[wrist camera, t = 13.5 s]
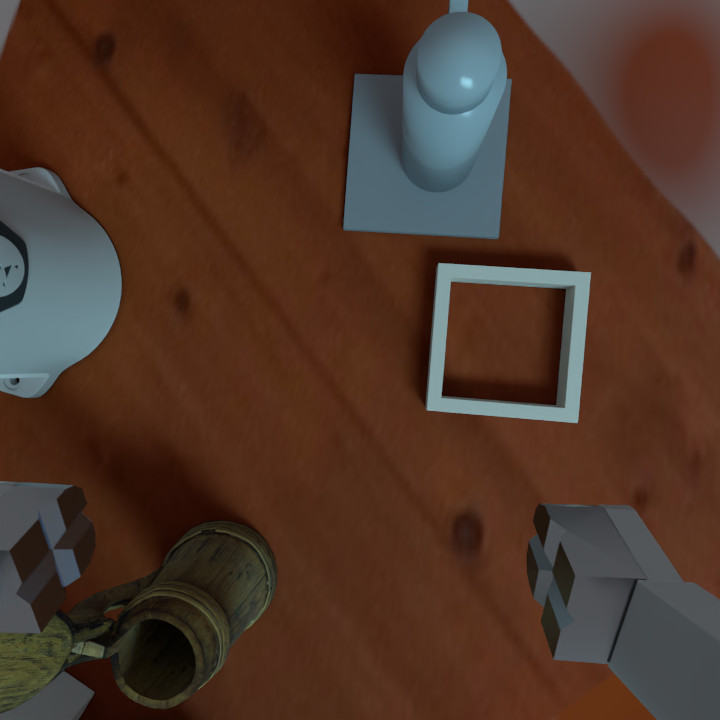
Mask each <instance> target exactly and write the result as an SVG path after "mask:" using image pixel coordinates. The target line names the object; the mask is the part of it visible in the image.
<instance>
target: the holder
mask: <svg viewBox="0 0 720 720" xmlns="http://www.w3.org/2000/svg"><path fill="white" fill-rule="evenodd" d="M590 277H591V273H590V272H574V271H558V270H542V269H526V268H510V267H494V266H478V265H462V264H446V263H438V265H437V267H436V279H435V292H434V304H433V317H432V329H431V342H430V355H429V367H428V380H427V392H426V405H425V408H426V410H430V411H442V412H454V413H465V414H477V415H489V416H501V417H513V418H524V419H536V420H548V421H560V422H572V423H578V415H579V404H580V392H581V381H582V369H583V358H584V346H585V335H586V323H587V312H588V300H589V289H590ZM451 281H452V282H468V283H483V284H499V285H514V286H529V287H545V288H560V289H566V296H565V308H564V319H563V331H562V343H561V354H560V366H559V378H558V389H557V401H556V405H547V404H535V403H522V402H510V401H498V400H486V399H474V398H462V397H450V396H442V384H443V371H444V359H445V347H446V334H447V322H448V309H449V297H450V284H451Z"/></svg>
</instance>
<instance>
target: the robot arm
mask: <svg viewBox="0 0 720 720" xmlns="http://www.w3.org/2000/svg"><path fill="white" fill-rule="evenodd" d="M121 287H122V282H121V270H120V265H119V261H118V257H117V254H116V251H115V249H114V246H113V244H112V242H111V240H110V239H109V237H108V235H107V234H106V232H105V231H104V230H103V228H102V227H101V226H100V225H99V223H98V222H97V221H96V220H95V219H94V218H93V217H91V216H90V215H89V214H88V213H86V212H85V211H84V210H83V209H81V208H80V207H79V206H78V205H77V204H76V203H74V201H73V200H72V199H71V197H70V196H69V194H68V192H67V190H66V188H65V186H64V184H63V183H62V181H61V180H60V178H59V177H58V176H57V175H56V174H55V173H54V172H52V171H50V170H47V169H44V168H41V167H35V168H29V169H22V170H16V171H10V172H8V171H5V170H2V169H0V391H3V392H6V393H10V394H13V395H16V396H20V397H24V398H38V397H40V396H42V395H43V394H45V393H46V392H47V391H48V389H49V388H50V387H51V386H52V384H53V383H54V382H55V380H56V379H57V377H58V376H59V375H60V373H61V372H62V371H64V370H65V369H66V368H68V367H69V366H71V365H73V364H74V363H76V362H78V361H80V360H81V359H83V358H84V357H86V356H87V355H88V354H89V353H91V352H92V351H93V350H94V349H95V348H96V347H97V346H98V345H99V344H100V343H101V341H102V340H103V339H104V338H105V336H106V335H107V333H108V331H109V330H110V328H111V326H112V324H113V322H114V320H115V317H116V314H117V311H118V308H119V304H120V298H121ZM16 378H19V383H17V381H16ZM86 505H87V502H86V499H85V496H84V493H83V490H82V489H81V488H79V487H77V486H74V485H60V484H44V483H28V482H22V483H18V482H4V481H0V633H42V632H43V630H44V629H45V627H46V626H47V624H48V623H49V622H50V620H51V619H52V617H53V616H54V614H55V613H56V612H57V610H58V609H59V607H60V606H61V604H62V603H63V602H64V600H65V599H66V597H65V586H67V585H69V584H70V583H72V582H73V581H75V580H76V579H78V578H79V577H81V576H82V574H83V573H84V571H85V569H86V568H87V566H88V565H89V563H90V561H91V558H92V555H93V552H94V549H95V530H94V526H93V523H92V522H91V521H90V520H89V519H88V518H87V517H86V516H85V515H84V514H83V513H82V511H83V509H84V508H85V506H86ZM533 523H534V526H535V528H536V531H537V534H536V535H535V536H534V537H533V538H532V539H531V540H529V544H528V550H527V575H528V580H529V585H530V588H531V592H532V595H533V598H534V599H535V600H536V601H538V602H539V603H540V604H541V605H542V606H543V607H544V610H543V614H542V619H541V623H542V626H543V629H544V632H545V635H546V638H547V641H548V644H549V647H550V650H551V653H552V656H553V660H565V661H578V662H590V663H603V664H609V666H608V667H609V668H610V669H611V670H612V671H613V672H614V673H615V675H616V676H617V677H618V678H619V679H620V680H621V681H622V682H623V683H624V684H625V685H626V686H627V688H628V689H629V690H630V691H631V692H632V693H633V694H634V695H635V696H636V697H637V698H638V699H639V701H641V703H642V704H643V705H644V706H645V707H646V708H647V709H648V710H649V712H650V713H651V714H652V715H653V716H654V717H655V718H656V719H657V720H720V600H719V599H718V598H716V597H715V596H713V595H712V594H710V593H709V592H707V591H706V590H704V589H703V588H701V587H700V586H698V585H697V584H695V583H690V582H684V581H683V580H682V578H681V577H680V575H679V574H678V572H677V571H676V570H675V568H674V567H673V565H672V564H671V562H670V561H669V559H668V558H667V556H666V555H665V553H664V552H663V550H662V549H661V548H660V546H659V545H658V543H657V542H656V540H655V539H654V537H653V536H652V534H651V533H650V531H649V530H648V528H647V527H646V526H645V524H644V523H643V521H642V520H641V518H640V517H639V515H638V514H637V512H636V511H635V510H634V509H633V508H632V507H630V506H628V505H598V506H595V505H569V504H538V506H537V508H536V510H535V514H534V519H533Z"/></svg>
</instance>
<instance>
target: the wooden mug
mask: <svg viewBox="0 0 720 720" xmlns="http://www.w3.org/2000/svg"><path fill="white" fill-rule="evenodd" d="M276 586H277V567H276V562H275V558H274V555H273V553H272V551H271V549H270V547H269V546H268V544H267V542H266V541H265V540H264V539H263V538H262V537H261V536H260V534H259V533H258V532H256V531H254V530H253V529H251V528H249V527H247V526H246V525H242V524H239V523H235V522H231V521H213V522H205V523H203V524H201V525H199V526H196V527H194V528H192V529H190V530H189V531H188V532H187V533H186V534H185V535H184V536H183V537H182V538H181V539H180V540H179V541H178V542H177V543H176V544H175V545H174V547H173V548H172V549H171V550H170V551H169V553H168V554H167V556H166V558H165V559H164V562H163V565H162V567H160V568H159V569H157V570H156V571H154V572H153V573H151V574H150V575H148V576H147V577H144V578H141V579H138V580H136V581H133V582H130V583H126V584H123V585H120V586H116V587H113V588H110V589H108V590H105V591H102V592H99V593H96V594H94V595H92V596H90V597H89V598H87V599H85V600H83V601H82V602H80V603H78V604H77V605H76V606H75V607H74V608H73V609H71V610H70V611H69V612H68V613H67V615H66V614H65V613H63V612H62V611H60V610H59V609H58V610H57V612H56V613H55V614H54V616H53V617H52V619H51V620H50V622H49V623H48V624H47V626H46V627H45V629H44V630H43V632H42V633H0V714H2V713H4V712H7V711H9V710H12V709H14V708H16V707H18V706H20V705H21V704H23V703H24V702H26V701H28V700H29V699H31V698H32V697H34V696H35V695H36V694H37V693H39V692H40V691H41V690H42V689H43V688H45V687H46V686H47V685H48V684H49V683H51V682H52V681H53V680H54V679H55V678H56V677H57V676H59V675H60V674H61V673H62V672H63V671H64V670H65V669H66V668H67V667H70V666H73V665H76V664H79V663H82V662H86V661H91V660H96V659H100V658H102V659H106V658H109V657H110V656H111V665H112V670H113V675H114V678H115V680H116V683H117V685H118V687H119V689H120V690H121V691H122V692H123V693H124V694H125V695H126V696H127V697H129V698H130V699H132V700H133V701H135V702H137V703H139V704H142V705H144V706H147V707H150V708H159V709H168V708H171V707H174V706H176V705H178V704H180V703H181V702H183V701H185V700H186V699H188V698H189V697H190V696H191V695H192V694H193V693H194V692H196V691H197V690H198V689H199V688H201V687H202V686H204V685H205V684H206V683H207V682H208V681H209V680H210V679H211V678H212V677H213V676H214V675H215V674H216V673H217V672H218V671H219V670H220V669H221V667H222V666H223V664H224V662H225V660H226V658H227V655H228V652H229V649H230V647H231V646H232V645H233V644H234V643H235V641H236V640H237V639H238V638H239V636H240V635H241V634H242V633H243V632H244V630H246V629H247V628H249V627H250V626H251V625H252V624H253V623H254V622H255V621H256V620H257V619H258V618H259V617H260V616H261V615H262V614H263V612H264V611H265V610H266V609H267V607H268V605H269V604H270V602H271V600H272V599H273V596H274V593H275V589H276ZM120 607H121V608H125V609H124V610H123V611H122V612H121V613H120V615H119V616H118V622H116V621H113V619H109V618H106V617H105V616H104V614H105V613H106V612H107V611H109V610H113V609H117V608H120Z"/></svg>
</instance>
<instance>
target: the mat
mask: <svg viewBox="0 0 720 720" xmlns="http://www.w3.org/2000/svg"><path fill="white" fill-rule="evenodd" d="M511 81H512V79H506V85H505V89H504V92H503V94H502V97H501V99H500V102H499V104H498V107H497V109H496V111H495V114H494V116H493V119H492V121H491V124H490V126H489V129H488V131H487V133H486V136H485V138H484V141H483V143H482V146H481V148H480V151H479V153H478V155H477V158H476V160H475V163H474V165H473V168H472V170H471V172H470V174H469V175H468V177H467V178H466V179H465V180H464V181H463V182H462V183H461V184H460V185H459V186H457V187H455V188H454V189H451V190H449V191H445V192H429V191H425V190H423V189H421V188H419V187H417V186H416V185H414V184H413V183H412V182H411V181H410V180H409V178H408V177H407V175H406V173H405V171H404V169H403V165H402V114H403V75H375V74H355V78H354V91H353V104H352V118H351V131H350V144H349V158H348V171H347V185H346V198H345V211H344V225H343V229H344V230H351V231H368V232H385V233H402V234H419V235H436V236H454V237H471V238H488V239H498V238H499V227H500V215H501V203H502V191H503V178H504V166H505V154H506V142H507V130H508V118H509V106H510V93H511Z"/></svg>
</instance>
